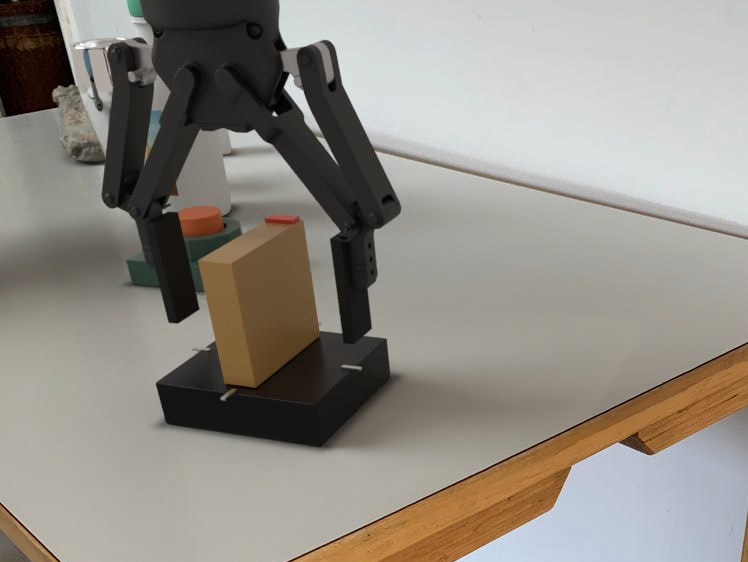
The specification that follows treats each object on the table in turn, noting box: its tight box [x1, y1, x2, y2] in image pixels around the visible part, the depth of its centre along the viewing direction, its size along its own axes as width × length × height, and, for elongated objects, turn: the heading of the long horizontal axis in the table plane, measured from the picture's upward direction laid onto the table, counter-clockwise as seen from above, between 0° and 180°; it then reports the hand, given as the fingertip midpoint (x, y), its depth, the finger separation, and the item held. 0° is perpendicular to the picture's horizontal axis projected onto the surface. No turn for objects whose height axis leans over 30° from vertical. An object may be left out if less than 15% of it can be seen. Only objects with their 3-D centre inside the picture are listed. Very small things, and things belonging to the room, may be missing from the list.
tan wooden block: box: [198, 213, 321, 388], centre depth 65 cm, size 9×2×8 cm, turn 159°
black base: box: [155, 321, 391, 448], centre depth 68 cm, size 13×13×3 cm
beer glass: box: [69, 37, 147, 165], centre depth 109 cm, size 7×7×15 cm
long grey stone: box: [51, 84, 105, 163], centre depth 136 cm, size 35×5×10 cm
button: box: [178, 206, 224, 236], centre depth 88 cm, size 4×4×2 cm
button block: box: [125, 216, 243, 292], centre depth 89 cm, size 11×9×4 cm
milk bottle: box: [126, 0, 232, 217], centre depth 99 cm, size 8×8×20 cm
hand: (268, 326), depth 66 cm, fingers open, 13 cm apart
